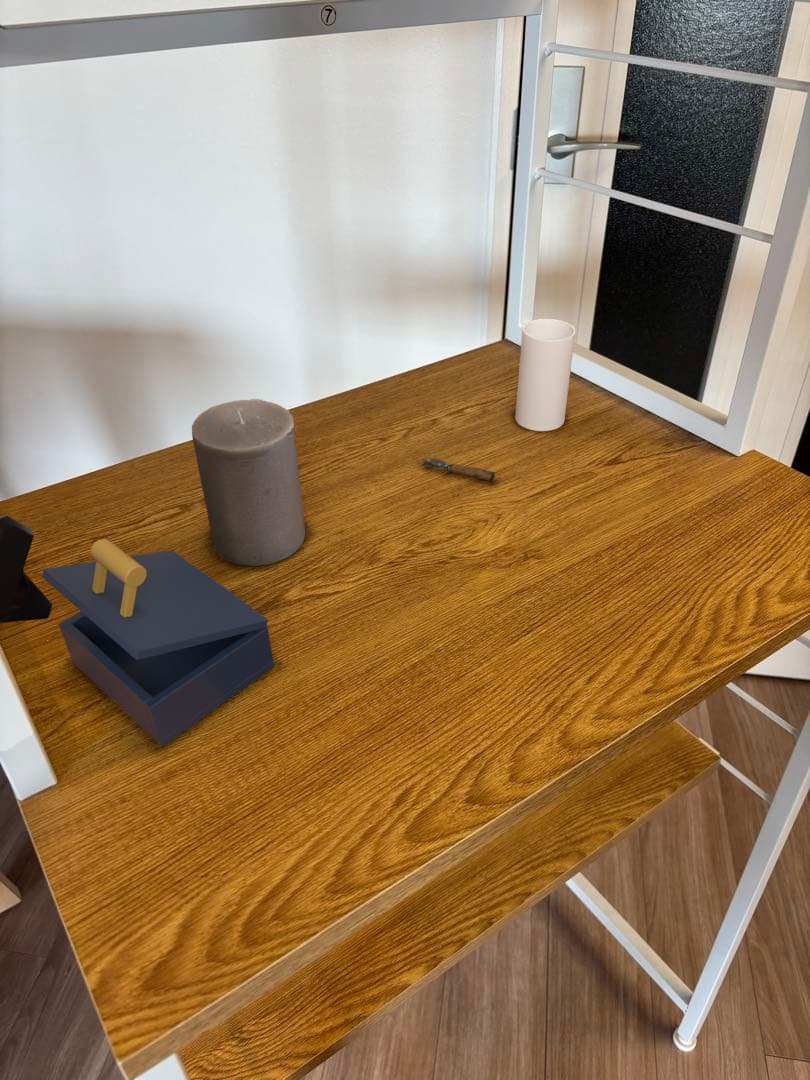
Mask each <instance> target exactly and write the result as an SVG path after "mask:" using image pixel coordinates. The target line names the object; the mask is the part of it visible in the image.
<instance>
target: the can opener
mask: <svg viewBox="0 0 810 1080" xmlns="http://www.w3.org/2000/svg"><path fill="white" fill-rule="evenodd" d="M421 460H422V461H424V462H423V466H424V467H425V468H432V467H433V468H432V469H434V470H438V471H441V470H445V469H446V470H447V472H450V473H452V474H458V475H464V476H467V477H470V478H474V479H477V480H482V481H488V482H493V481H494V479H495V476H496V475H495V474H496V473H495V471H491V470H487V469H483V468H479V467H471V466H470V467H469V466H464V465H460V464H456V463H449V464H447V462H446V461H444V460H440V459H436V458H421ZM427 462H428V463H430V464H427Z"/></svg>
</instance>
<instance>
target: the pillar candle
mask: <svg viewBox="0 0 810 1080" xmlns="http://www.w3.org/2000/svg"><path fill="white" fill-rule="evenodd" d="M293 415H294V414H291V412H290V410H289V409H286V408H285V407H283V406H282V405H280V404H277V403H274V402H271V401H267V400H263V399H259V398H251V399H240V400H233V401H232V400H231V401H227V402H223V403H220V404H217V405H213V406H211V407H208V409H206V410H204V411H203V412H201V413H200V414H199V415H198V416H197V417H196V418H195V419H194V421H193V423H192V425H191V436H192V443H193V448H194V453H195V458H196V462H197V469H198V470H197V471H198V472H199V473H198V474H199V479H200V485H201V489H202V493H203V498H204V503H205V508H206V514H207V520H208V526H209V528H210V532H211V537H212V540H213V541H212V547H213V549H214V551H215V553H216V554H217V556H218V557H220V559H223V560H224V561H226V562H227V563H228V562H229V563H232V564H234V565H239V566H245V567H258V566H259V567H260V566H268V565H272V564H276V563H278V562H281V561H283V560H284V559H287V558H289V557H291V556H292V555H293V554H294V553H296V552H297V551H298V550H299V548H301V546H302V545H303V544H304V541H305V538H306V525H305V516H304V507H303V497H302V489H301V487H302V486H301V478H300V477H301V476H300V469H299V461H298V452H297V443H296V436H295V421H294V416H293Z"/></svg>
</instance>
